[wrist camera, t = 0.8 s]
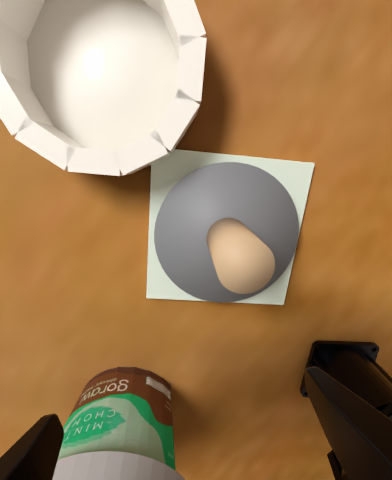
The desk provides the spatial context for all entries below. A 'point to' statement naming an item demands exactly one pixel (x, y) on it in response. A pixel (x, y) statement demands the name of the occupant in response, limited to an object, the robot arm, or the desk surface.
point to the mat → (185, 162)
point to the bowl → (100, 79)
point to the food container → (120, 429)
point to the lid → (226, 232)
